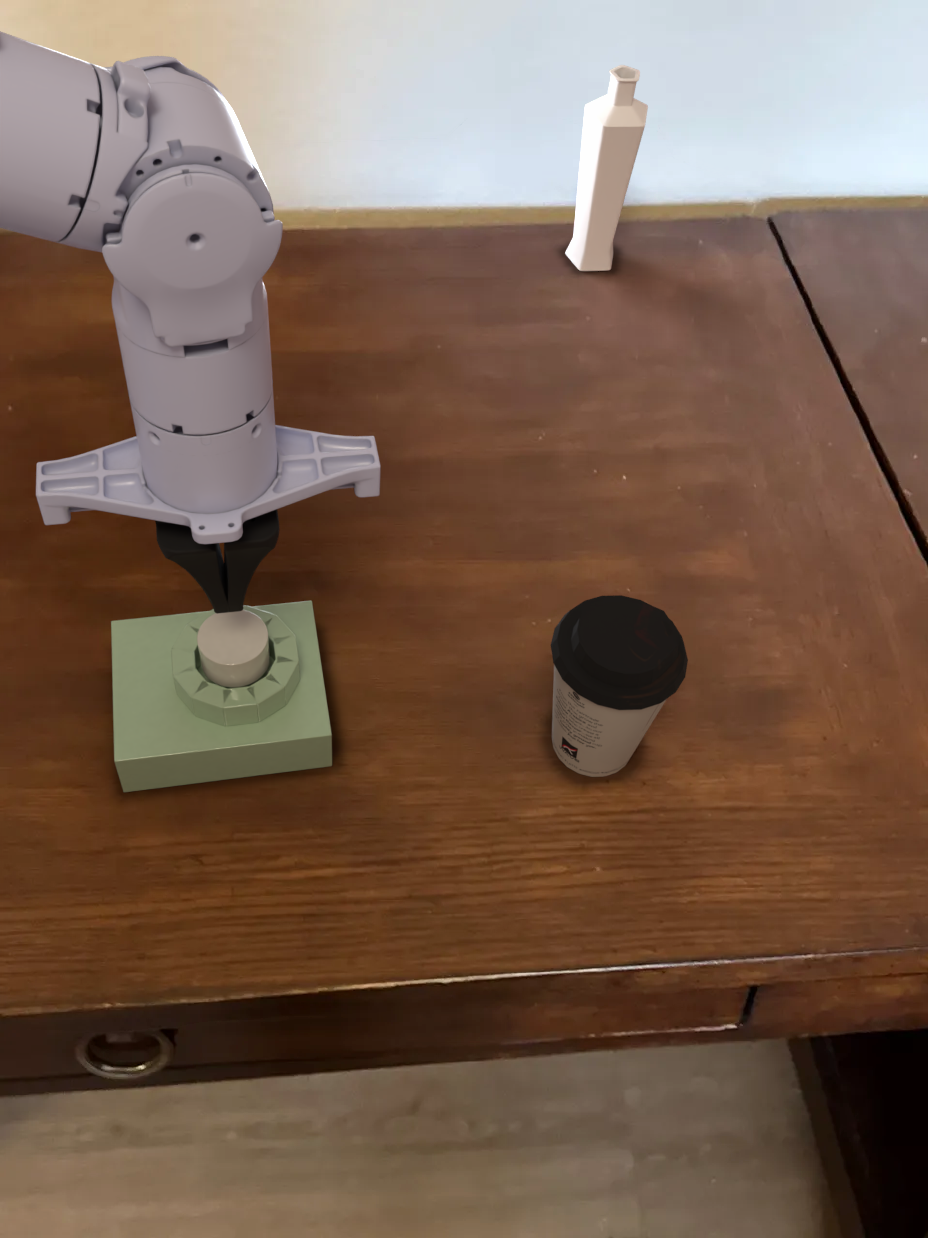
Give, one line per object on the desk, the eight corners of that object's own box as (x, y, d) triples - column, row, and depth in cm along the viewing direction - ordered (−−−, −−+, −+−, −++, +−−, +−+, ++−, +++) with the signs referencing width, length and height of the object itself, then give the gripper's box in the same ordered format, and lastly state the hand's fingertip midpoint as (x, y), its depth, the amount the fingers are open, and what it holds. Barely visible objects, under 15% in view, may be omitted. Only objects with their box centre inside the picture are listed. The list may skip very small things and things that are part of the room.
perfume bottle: (551, 262, 94) (581, 77, 82) (574, 234, 97) (606, 50, 85) (605, 283, 93) (643, 98, 81) (627, 254, 96) (667, 70, 84)
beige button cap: (202, 691, 62) (199, 668, 61) (198, 635, 65) (194, 612, 63) (273, 683, 63) (271, 660, 61) (266, 628, 65) (264, 605, 64)
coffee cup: (550, 806, 65) (577, 703, 57) (516, 699, 69) (538, 589, 61) (671, 784, 66) (715, 681, 59) (631, 681, 70) (667, 571, 63)
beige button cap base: (123, 793, 64) (108, 742, 60) (119, 654, 69) (105, 600, 65) (332, 766, 66) (331, 716, 62) (313, 634, 71) (311, 580, 67)
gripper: (9, 473, 45) (74, 679, 56) (394, 442, 48) (386, 645, 58) (15, 348, 49) (74, 563, 60) (369, 326, 52) (365, 536, 63)
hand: (227, 596), depth 60 cm, fingers closed
